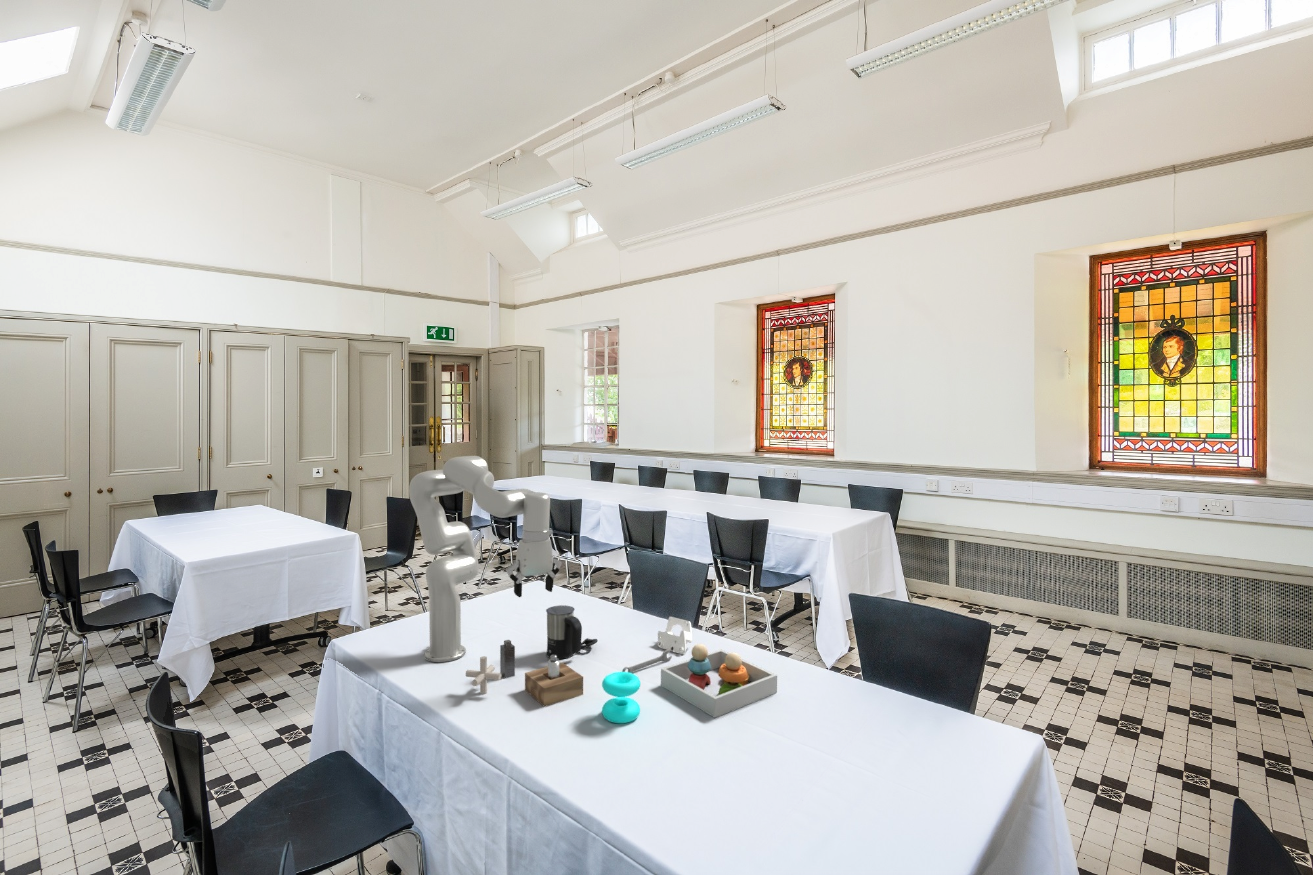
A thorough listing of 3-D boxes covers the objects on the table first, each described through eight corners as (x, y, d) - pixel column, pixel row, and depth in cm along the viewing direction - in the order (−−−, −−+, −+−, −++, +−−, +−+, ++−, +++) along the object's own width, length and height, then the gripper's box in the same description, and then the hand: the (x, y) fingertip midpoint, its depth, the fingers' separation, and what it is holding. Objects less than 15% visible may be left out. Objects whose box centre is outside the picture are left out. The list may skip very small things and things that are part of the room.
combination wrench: (623, 667, 180) (673, 649, 193) (621, 666, 181) (670, 648, 194) (623, 680, 180) (673, 661, 193) (621, 678, 181) (670, 659, 194)
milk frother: (540, 656, 195) (540, 611, 195) (566, 639, 210) (566, 597, 209) (578, 664, 190) (578, 617, 189) (602, 646, 204) (602, 603, 203)
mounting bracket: (692, 656, 201) (699, 623, 205) (682, 654, 197) (690, 621, 200) (662, 647, 208) (670, 616, 212) (653, 645, 204) (660, 613, 207)
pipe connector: (491, 702, 164) (491, 666, 164) (458, 698, 166) (457, 663, 166) (507, 686, 174) (507, 652, 173) (476, 683, 176) (475, 649, 175)
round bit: (545, 691, 171) (545, 655, 170) (555, 688, 173) (556, 652, 172) (551, 696, 168) (551, 659, 168) (561, 692, 170) (561, 656, 170)
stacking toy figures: (755, 679, 180) (756, 638, 180) (743, 706, 164) (744, 660, 164) (697, 670, 186) (698, 630, 186) (680, 694, 170) (681, 651, 170)
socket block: (524, 690, 172) (524, 672, 171) (562, 679, 179) (562, 662, 179) (544, 706, 162) (544, 688, 162) (583, 694, 169) (583, 676, 169)
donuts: (646, 682, 155) (609, 689, 151) (646, 720, 155) (609, 728, 151) (632, 667, 164) (597, 673, 160) (631, 703, 165) (596, 710, 161)
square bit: (500, 674, 182) (500, 640, 181) (510, 672, 183) (510, 638, 183) (504, 678, 179) (504, 643, 178) (514, 675, 181) (514, 641, 180)
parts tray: (660, 685, 176) (661, 668, 175) (720, 665, 190) (721, 649, 190) (715, 717, 157) (715, 698, 157) (776, 692, 172) (777, 675, 172)
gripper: (556, 530, 184) (554, 585, 185) (502, 535, 173) (500, 594, 174) (568, 535, 178) (566, 592, 179) (512, 541, 167) (511, 601, 168)
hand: (533, 593), depth 176 cm, fingers open, 9 cm apart
